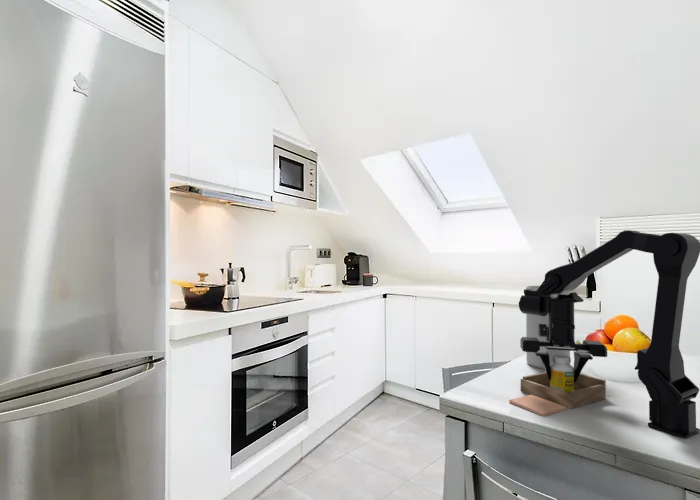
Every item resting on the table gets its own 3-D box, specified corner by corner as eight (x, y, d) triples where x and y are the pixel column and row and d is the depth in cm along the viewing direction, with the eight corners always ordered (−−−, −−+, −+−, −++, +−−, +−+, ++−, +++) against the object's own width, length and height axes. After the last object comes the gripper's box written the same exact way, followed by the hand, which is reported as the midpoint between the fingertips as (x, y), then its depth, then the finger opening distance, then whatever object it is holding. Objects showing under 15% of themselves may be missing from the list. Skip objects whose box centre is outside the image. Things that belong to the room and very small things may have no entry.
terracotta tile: (566, 409, 89) (566, 406, 89) (543, 416, 85) (543, 413, 85) (531, 396, 97) (531, 394, 97) (509, 402, 93) (509, 399, 93)
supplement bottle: (557, 389, 102) (556, 352, 103) (578, 395, 98) (578, 357, 98) (545, 393, 100) (545, 355, 100) (567, 400, 95) (566, 360, 95)
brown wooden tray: (605, 398, 96) (605, 380, 96) (571, 408, 90) (571, 389, 90) (554, 382, 108) (554, 366, 108) (520, 390, 102) (520, 373, 102)
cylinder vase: (537, 358, 134) (536, 285, 135) (576, 366, 125) (576, 287, 125) (519, 364, 126) (518, 287, 127) (560, 373, 117) (559, 289, 117)
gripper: (593, 315, 104) (594, 374, 104) (517, 312, 110) (518, 368, 109) (607, 322, 93) (608, 388, 93) (522, 318, 99) (523, 380, 99)
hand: (561, 380), depth 99 cm, fingers closed on supplement bottle, 5 cm apart
